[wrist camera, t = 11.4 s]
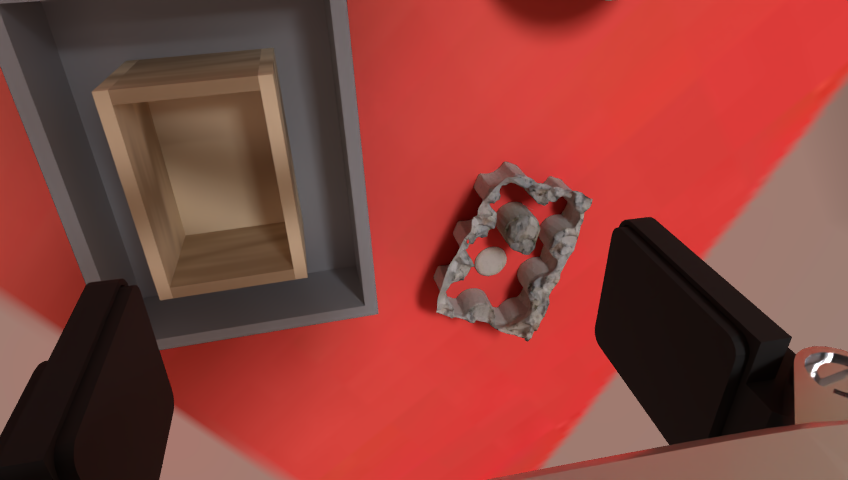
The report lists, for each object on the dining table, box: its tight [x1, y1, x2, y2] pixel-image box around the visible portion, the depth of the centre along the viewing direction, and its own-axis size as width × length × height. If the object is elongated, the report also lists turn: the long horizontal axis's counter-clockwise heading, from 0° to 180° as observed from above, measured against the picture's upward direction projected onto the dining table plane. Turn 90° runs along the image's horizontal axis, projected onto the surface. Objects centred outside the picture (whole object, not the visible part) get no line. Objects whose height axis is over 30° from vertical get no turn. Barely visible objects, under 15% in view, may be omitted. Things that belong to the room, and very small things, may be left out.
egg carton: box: [433, 162, 592, 341], centre depth 37 cm, size 11×8×4 cm
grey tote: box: [0, 0, 378, 350], centre depth 29 cm, size 18×14×5 cm
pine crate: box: [92, 48, 308, 300], centre depth 28 cm, size 10×7×6 cm
